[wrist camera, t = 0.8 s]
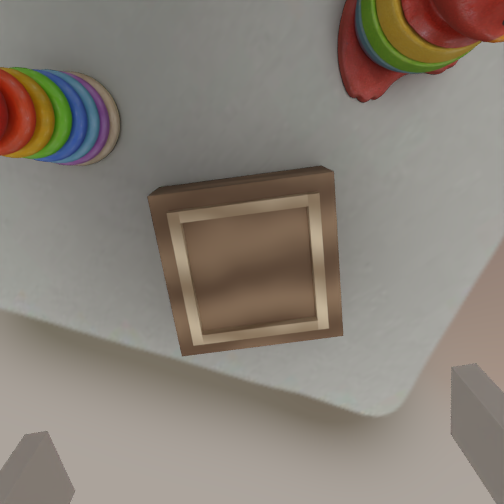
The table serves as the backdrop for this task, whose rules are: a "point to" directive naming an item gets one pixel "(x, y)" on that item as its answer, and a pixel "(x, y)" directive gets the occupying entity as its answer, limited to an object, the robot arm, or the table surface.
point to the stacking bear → (410, 39)
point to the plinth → (250, 259)
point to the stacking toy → (56, 117)
